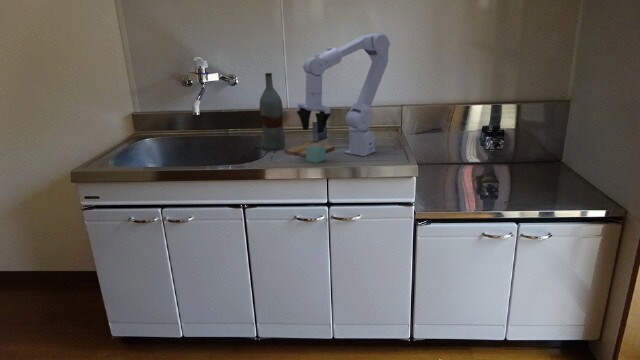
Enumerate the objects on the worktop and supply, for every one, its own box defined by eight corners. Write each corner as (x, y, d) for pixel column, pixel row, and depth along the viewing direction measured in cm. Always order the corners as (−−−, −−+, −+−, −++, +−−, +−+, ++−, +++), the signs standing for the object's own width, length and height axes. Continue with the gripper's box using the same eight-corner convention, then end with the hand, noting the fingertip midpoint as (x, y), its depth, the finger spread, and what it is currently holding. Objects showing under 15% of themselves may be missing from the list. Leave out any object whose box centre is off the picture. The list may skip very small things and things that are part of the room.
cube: (325, 159, 162) (325, 146, 160) (316, 163, 158) (316, 149, 157) (315, 157, 165) (314, 144, 164) (306, 161, 162) (305, 147, 160)
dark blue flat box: (316, 142, 187) (315, 117, 184) (311, 141, 189) (309, 117, 185) (328, 137, 194) (327, 113, 191) (322, 137, 196) (322, 113, 192)
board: (334, 149, 174) (334, 146, 174) (311, 158, 164) (311, 154, 164) (308, 145, 183) (308, 142, 183) (284, 153, 173) (284, 149, 173)
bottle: (260, 150, 178) (254, 74, 168) (264, 144, 187) (258, 72, 177) (283, 150, 177) (278, 73, 168) (286, 144, 186) (281, 71, 176)
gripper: (291, 91, 157) (291, 129, 161) (320, 95, 148) (319, 135, 152) (305, 90, 162) (305, 127, 166) (334, 94, 152) (333, 133, 156)
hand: (313, 131), depth 159 cm, fingers open, 7 cm apart
